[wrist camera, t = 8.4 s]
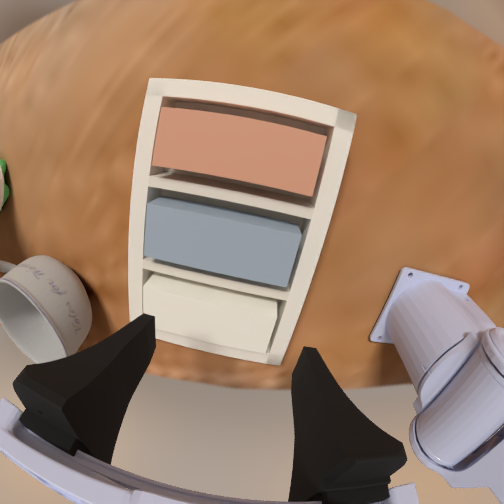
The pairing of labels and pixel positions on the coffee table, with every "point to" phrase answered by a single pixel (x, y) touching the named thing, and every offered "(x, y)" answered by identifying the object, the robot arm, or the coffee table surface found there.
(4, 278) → the teacup
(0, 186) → the cup
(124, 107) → the coffee table surface
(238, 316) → the ivory key
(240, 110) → the cream drawer frame
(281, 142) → the terracotta key
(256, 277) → the slate key
